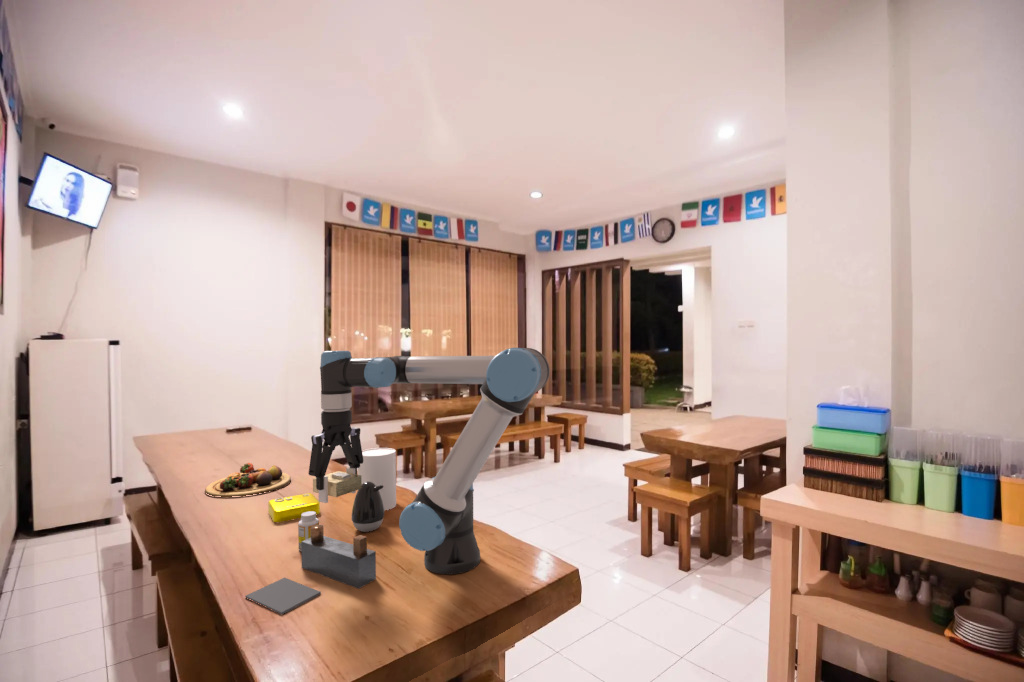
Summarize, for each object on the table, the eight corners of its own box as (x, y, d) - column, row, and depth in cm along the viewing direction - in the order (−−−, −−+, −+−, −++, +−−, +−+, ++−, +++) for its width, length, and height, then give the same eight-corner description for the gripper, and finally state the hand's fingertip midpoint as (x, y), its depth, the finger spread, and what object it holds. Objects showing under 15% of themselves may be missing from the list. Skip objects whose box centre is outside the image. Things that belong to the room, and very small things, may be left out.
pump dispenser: (375, 536, 147) (375, 487, 147) (345, 534, 149) (344, 485, 149) (390, 524, 157) (390, 478, 157) (361, 522, 159) (361, 476, 159)
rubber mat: (320, 594, 113) (320, 591, 113) (281, 615, 104) (281, 612, 104) (284, 579, 120) (284, 577, 120) (245, 598, 111) (245, 595, 111)
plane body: (375, 579, 120) (375, 535, 120) (358, 588, 115) (358, 543, 115) (319, 559, 131) (319, 519, 131) (301, 567, 126) (301, 526, 126)
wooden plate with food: (218, 480, 212) (217, 462, 212) (295, 473, 221) (295, 455, 221) (193, 504, 181) (192, 483, 181) (284, 495, 191) (284, 474, 191)
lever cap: (361, 488, 124) (361, 472, 124) (336, 497, 117) (336, 479, 117) (338, 483, 129) (338, 468, 129) (313, 492, 122) (312, 475, 122)
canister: (398, 509, 171) (398, 453, 171) (359, 514, 166) (358, 457, 166) (393, 498, 183) (393, 446, 183) (356, 502, 178) (356, 449, 178)
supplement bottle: (321, 544, 141) (321, 509, 141) (315, 552, 136) (315, 516, 136) (302, 545, 141) (302, 510, 141) (295, 553, 135) (295, 517, 135)
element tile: (274, 524, 158) (274, 510, 158) (267, 512, 170) (267, 498, 171) (321, 515, 167) (321, 501, 167) (311, 503, 179) (311, 491, 179)
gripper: (358, 404, 134) (359, 484, 134) (291, 414, 116) (292, 506, 116) (377, 405, 130) (378, 488, 130) (310, 416, 112) (311, 511, 112)
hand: (337, 496), depth 123 cm, fingers closed on lever cap, 8 cm apart
